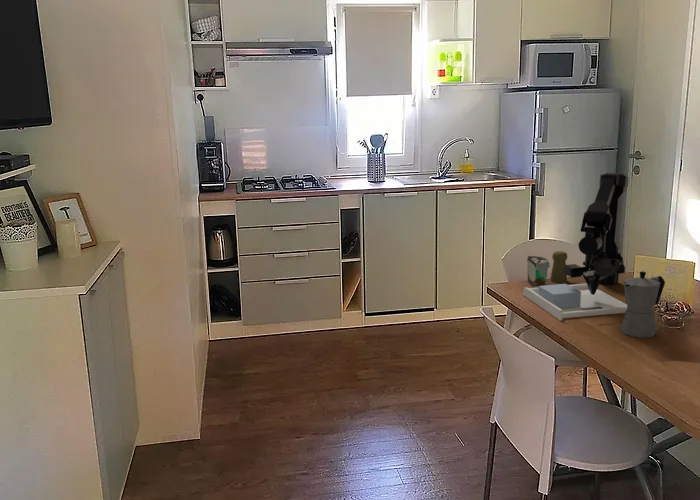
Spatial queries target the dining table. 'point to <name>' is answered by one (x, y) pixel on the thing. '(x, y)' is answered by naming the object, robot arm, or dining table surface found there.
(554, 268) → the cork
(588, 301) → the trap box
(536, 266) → the food container
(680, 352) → the dining table surface
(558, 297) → the slate block
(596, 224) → the robot arm
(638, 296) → the coffeepot
